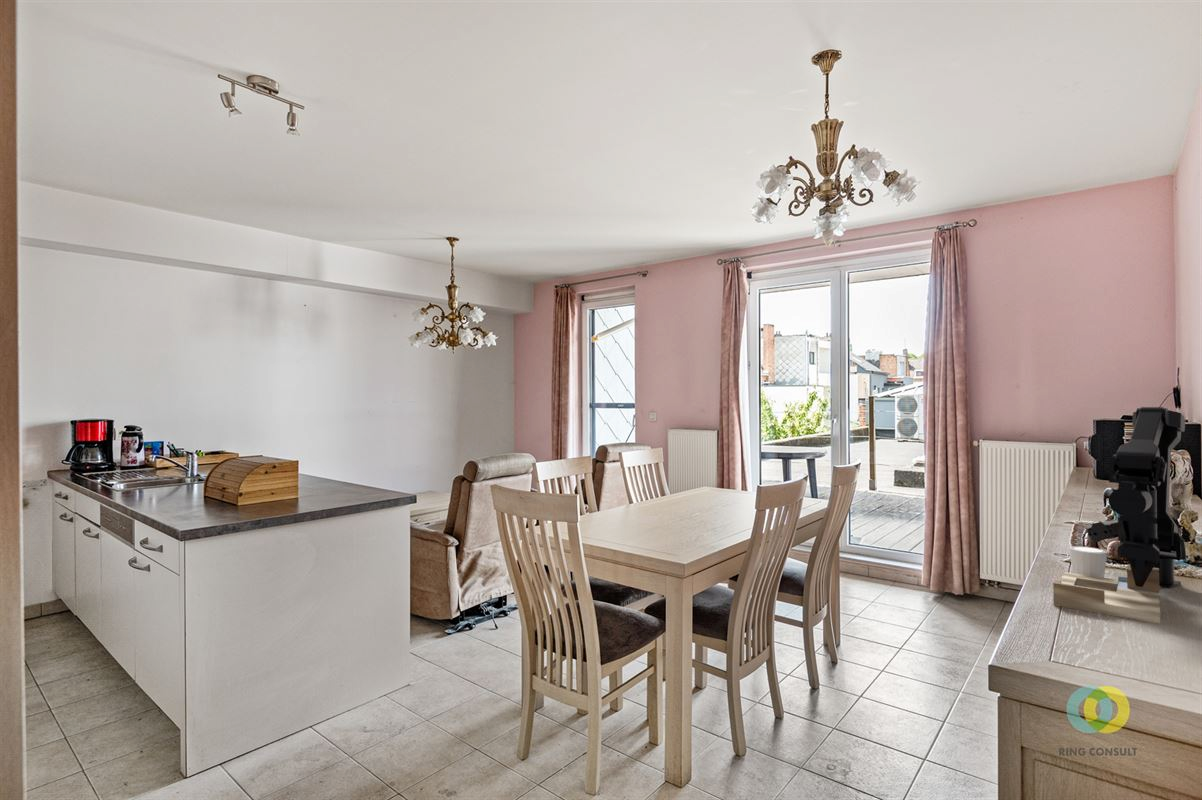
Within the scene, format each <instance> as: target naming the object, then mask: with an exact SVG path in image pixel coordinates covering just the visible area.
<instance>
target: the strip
mask: <svg viewBox="0 0 1202 800" xmlns="http://www.w3.org/2000/svg"><path fill="white" fill-rule="evenodd" d="M1117 580H1118V587H1117V588H1122V589H1129V590H1136V591H1142V592H1149V593H1156V594H1159V595H1160V592H1159V593H1157V592H1150V591H1144V590H1137V589H1130V588H1127V576H1124V575H1118V578H1117Z"/></svg>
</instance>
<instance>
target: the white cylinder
mask: <svg viewBox="0 0 1202 800" xmlns="http://www.w3.org/2000/svg"><path fill="white" fill-rule="evenodd" d="M1069 555H1070V563H1071V573H1074V574H1081V575H1088V576H1095V577H1102V578H1105V575H1106V565H1107V556H1108V551H1106V550H1105V549H1101V548H1097V547H1092V546H1084V545H1083V546H1081V545H1080V546H1079V545H1078V546H1077V545H1076V546H1074V545H1073V546H1069Z"/></svg>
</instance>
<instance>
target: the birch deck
mask: <svg viewBox="0 0 1202 800" xmlns="http://www.w3.org/2000/svg"><path fill="white" fill-rule="evenodd" d="M1117 587H1118V579H1115V578H1108V577H1104V578H1102V577H1095V576H1088V575H1081V574H1074V573H1072V572H1066V571H1065V572H1063V574H1062V576H1061V578H1060V579H1054V581H1053V587H1052V588H1053V593H1052V594H1053V606H1055V607H1056V606H1057V607H1062V608H1067V609H1073V610H1079V611H1084V612H1085V611H1086V612H1090V613H1091V612H1092V613H1096V614H1101V615H1107V616H1108V615H1109V616H1113V617H1119V618H1126V619H1129V620H1130V619H1132V620H1136V621H1143V622H1148V623H1153V624H1158V625H1160V624H1161V608H1160V607H1161V606H1160V605H1161V604H1160V593H1159V594H1156V593H1149V592H1142V591H1136V590H1129V589H1122V588H1117Z"/></svg>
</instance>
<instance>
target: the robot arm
mask: <svg viewBox="0 0 1202 800" xmlns="http://www.w3.org/2000/svg"><path fill="white" fill-rule="evenodd" d="M1131 428H1132V429H1133V430H1132V433H1131V436H1130V439H1129V441H1128V442H1125V443H1123V444H1121V445H1120V446H1119V448H1118V450H1117V451H1116V454H1113V455H1112V459H1111V464H1110V465H1111V467H1110V472H1109V477H1108V482H1109V483H1113V484H1118V488H1116V489H1114V490H1113V491H1112V492H1111V493H1110V495H1109V496H1108V504H1109V505H1108V506H1109V508H1111V510H1112V511H1113V512H1114V513H1116V514H1117V515H1118V516H1117V519H1115V520H1114V519H1112V520H1107V521H1101V520H1100V521H1097V522H1094V521H1093V522H1092V523H1091V524H1087V525H1086V526H1085V530H1086V532H1087V535H1088V537H1089V539H1090V542H1091V543H1099V542H1100V541H1104V540H1111V539H1116V538H1117V540H1118V541H1119V543H1118V544H1117V557H1118V558H1123V559H1125V560H1127V562H1129V565H1130V567H1131V570H1132V574H1133V578H1134V581H1135V585H1136V586H1139V587H1143V585H1144V584H1145V582H1146V580H1147V578H1148V576H1149V574H1150V573H1151V571H1152V569H1153V568H1159V587H1161V588H1166V589H1171V588H1174V587H1177V586H1179V585H1182V581H1179V580H1175V561H1180V562H1181V561H1186V560H1187V549H1186V548H1187V547H1186V541H1185V539H1184V538H1182V534H1181V532H1179V531H1178V528H1179V527H1178V525H1177V524H1176V523H1175V521H1174V520H1173V517H1171V515H1170V513H1169V512H1170V511H1169V510H1170V489H1171V488H1170V482H1171V481H1170V480H1171V459H1172V458H1171V456H1172V450H1173V449H1174V448H1175V447H1176V446H1177V445H1178V444H1179V443H1180V441H1181V439H1182V433H1184V432H1185V429H1186V419H1185V416H1184V415H1183V413H1182V412H1177V411H1174V410H1170V409H1169V408H1167V407H1166V408H1165V407H1163V406H1145V407H1144V406H1141V407H1139V408H1136V411H1134V412H1132V427H1131Z"/></svg>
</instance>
